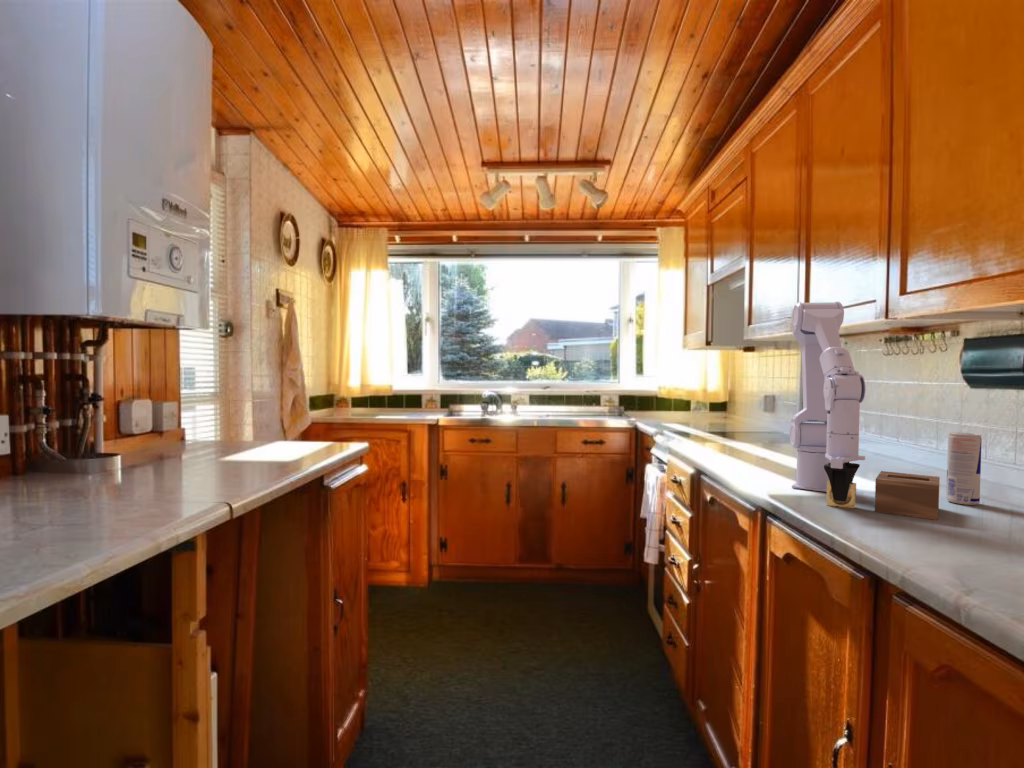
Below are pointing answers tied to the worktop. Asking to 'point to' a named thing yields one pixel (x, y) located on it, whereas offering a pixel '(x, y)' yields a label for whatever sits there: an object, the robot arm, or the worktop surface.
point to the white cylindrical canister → (963, 468)
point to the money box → (907, 494)
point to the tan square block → (848, 503)
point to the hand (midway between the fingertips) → (841, 499)
